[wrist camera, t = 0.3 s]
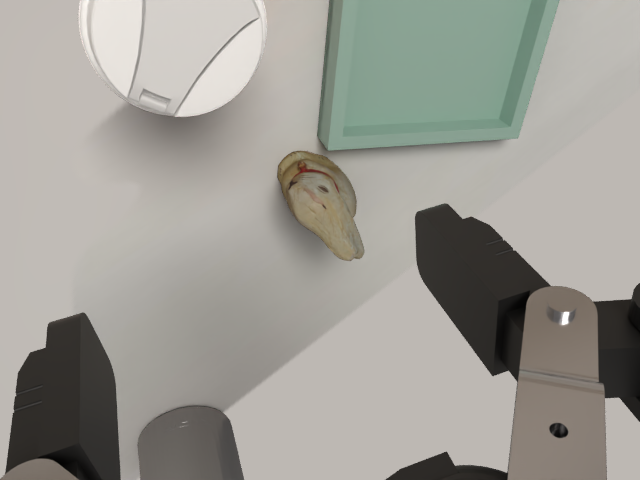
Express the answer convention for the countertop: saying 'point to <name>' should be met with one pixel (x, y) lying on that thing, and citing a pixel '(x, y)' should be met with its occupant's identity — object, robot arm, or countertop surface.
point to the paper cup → (174, 50)
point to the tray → (429, 70)
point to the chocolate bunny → (322, 201)
